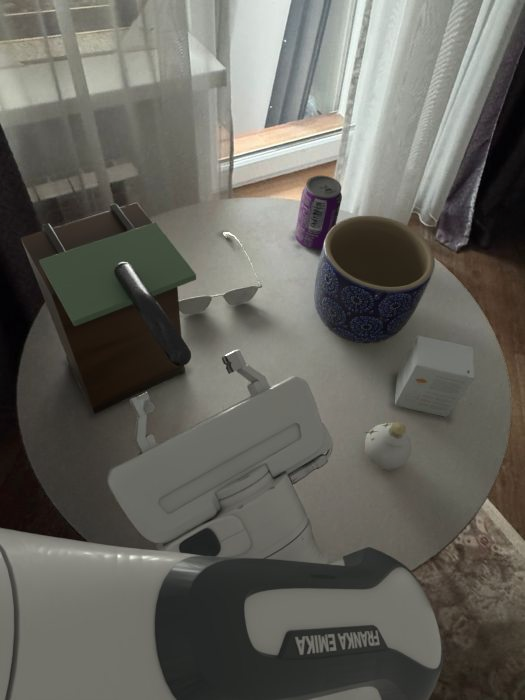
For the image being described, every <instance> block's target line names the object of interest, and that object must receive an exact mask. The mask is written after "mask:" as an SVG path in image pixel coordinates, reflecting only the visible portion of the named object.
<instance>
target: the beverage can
mask: <svg viewBox="0 0 525 700" xmlns="http://www.w3.org/2000/svg"><path fill="white" fill-rule="evenodd" d="M342 200H343V194H342V185H341V183H340V182H339V181H338V180H337V179H335V178H333V177H332V176H329V175H314V176H311V177H309V178H308V179H307V180H306V183H305V186H304V187H303V189H302V191H301V195H300V202H299V208H298V216H297V222H296V227H295V234H294V237H295V239H296V241H297V242H298V244H299V245H301V246H302V247H305V248H308V249H311V250H312V249H313V250H322V247H323V244H324V240H325V237H326V235H327V233H328V232H329V230H330V229H331V228H332V227H333V226H334V225H336V224H337V221H338V217H339V213H340V209H341V204H342Z"/></svg>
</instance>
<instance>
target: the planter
mask: <svg viewBox="0 0 525 700" xmlns="http://www.w3.org/2000/svg"><path fill="white" fill-rule="evenodd" d="M435 267H436V259H435V254H434V251H433V249H432V247H431V246H430V244H429V243H428V241H427V240H426V239H425V238H424V237H423V236H422V235H421V233H419V232H418V231H416V230H415V229H414V228H412V227H410V226H408V225H407V224H405V223H402V222H400V221H397V220H395V219H392V218H390V217H389V218H388V217H383V216H379V215H378V216H377V215H358V216H352V217H349V218H346V219H343V220H341V221H339V222H336V225H334V226H333V227H332V228H331V229H330V230H329V232H328V233H327V235H326V237H325V240H324V244H323V247H322V249H321V251H320V256H319V261H318V265H317V270H316V275H315V281H314V284H315V285H314V293H313V298H314V306H315V311H316V313H317V315H318V316H319V318H320V320H321V322H322V323H323V324H324V326H325V327H327V329H328V330H329V331H331V332H332V333H333V334H334V335H336V336H337V337H340V338H341V339H344V340H346V341H348V342H352V343H356V344H375V343H380V342H383V341H386V340H389V339H390V338H391V339H392V338H393V337H394V336H396V335H397V334H398V333H400V332H401V331H402V329H404V328H405V326H406V325H407V324H408V322H409V321H410V319H411V317H412V316H413V315H414V313H415V311H416V309H417V307H418V305H419V304H420V302H421V300H422V298H423V296H424V294H425V293H426V289H427V287H428V286H429V283H430V281H431V279H432V276H433V274H434V270H435Z"/></svg>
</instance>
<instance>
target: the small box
mask: <svg viewBox="0 0 525 700" xmlns="http://www.w3.org/2000/svg"><path fill="white" fill-rule="evenodd" d="M474 362H475V361H474V347H473V346H469V345H465V344H460V343H456V342H450V341H446V340H440V339H436V338H432V337H427V336H422V335H417V336H416V337H415V338H414V341H413V344H412V345H411V347H410V349H409V351H408V353H407V355H406V357H405V359H404V361H403V363H402V365H401V367H400V370H399V371H398V374H397V375H396V382H395V395H394V406H395V407H400V408H405V409H408V410H414V411H418V412H423V413H427V414H431V415H436V416H440V417H444V418H447V417H448V416H449V415H450V414H451V413H452V411H453V409H454V408H455V407H456V405H457V404H458V403H459V401H460V400H461V398H462V397H463V396H464V395H465V393H466V391H467V390H468V388H469V387H471V384H472V383H473V381H474V380H475V368H474V367H475V366H474V365H475V364H474Z"/></svg>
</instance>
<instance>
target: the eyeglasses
mask: <svg viewBox="0 0 525 700" xmlns="http://www.w3.org/2000/svg"><path fill="white" fill-rule="evenodd" d="M222 235H223V236H224V237H225V238H227V239H228V238H229V237H233V238H234V239H235V240H236V241H237V242H238V243H239V245H240V246H241V248H242V250H243V251H244V253H245V255H246V258H247V259H248V261H249V263H250V265H251V267H252V270H253V273H254V275H255V277H256V279H257V285H247V286H242V287H238V288H234V289H230V290H226V291H225V292H224V293H216V294H213V295H208V294H205V295H197V296H192V297H187V298H183V299H178V300H179V313H181V314H183V315H194V314H198V313H199V314H200V313H202V312H204V311H206V310H207V308H208V307H209V306H210V305H211V302H212V298H215V297H220V296H222V298H223V299H224V300H225V302H226V303H227V304H228V305H230V306H237V305H242V304H246V303H248V302H250V301H251V300H253V298H254V297H255V296H256V294H257V292H258V290H259V289H262V288H263V285H262V282H261V280H260V279H259V278H258V276H257V275H258V274H257V273H256V270H255V268H254V266H253V264H252V261H251V259H250V257H249V255H248V253H247V252H246V250H245V248H244V247H245V246H244V245H243V244H242V242H241V241H240V240H239V238H238V237H237V236H235V235H234V234H233V233H231V232H228V231H224V232H223V233H222Z"/></svg>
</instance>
